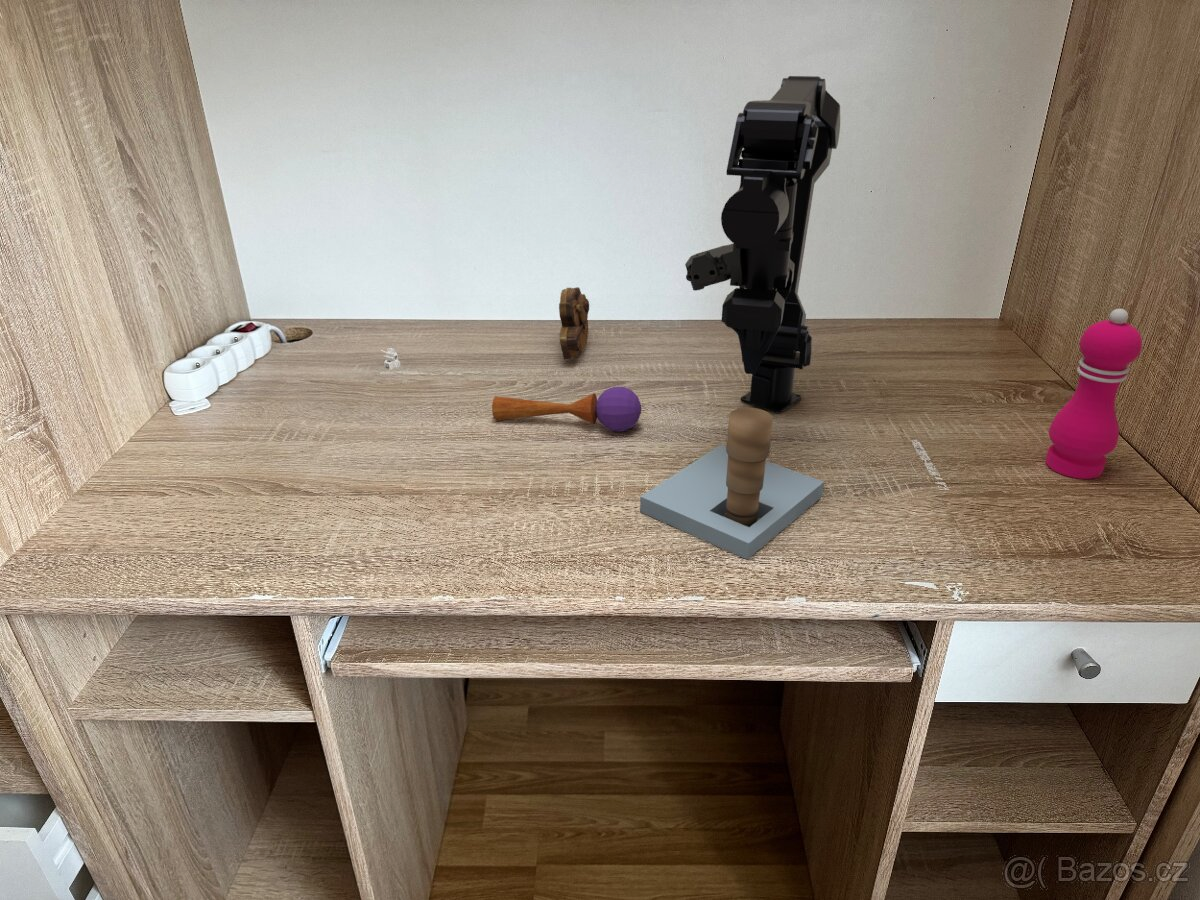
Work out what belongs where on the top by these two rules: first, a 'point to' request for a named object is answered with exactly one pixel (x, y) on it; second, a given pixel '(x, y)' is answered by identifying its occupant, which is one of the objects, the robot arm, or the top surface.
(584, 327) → the wooden carving
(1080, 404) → the pepper mill
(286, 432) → the top surface
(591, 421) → the kendama
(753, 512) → the leg
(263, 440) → the top surface
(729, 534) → the seat board
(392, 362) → the white figurine
